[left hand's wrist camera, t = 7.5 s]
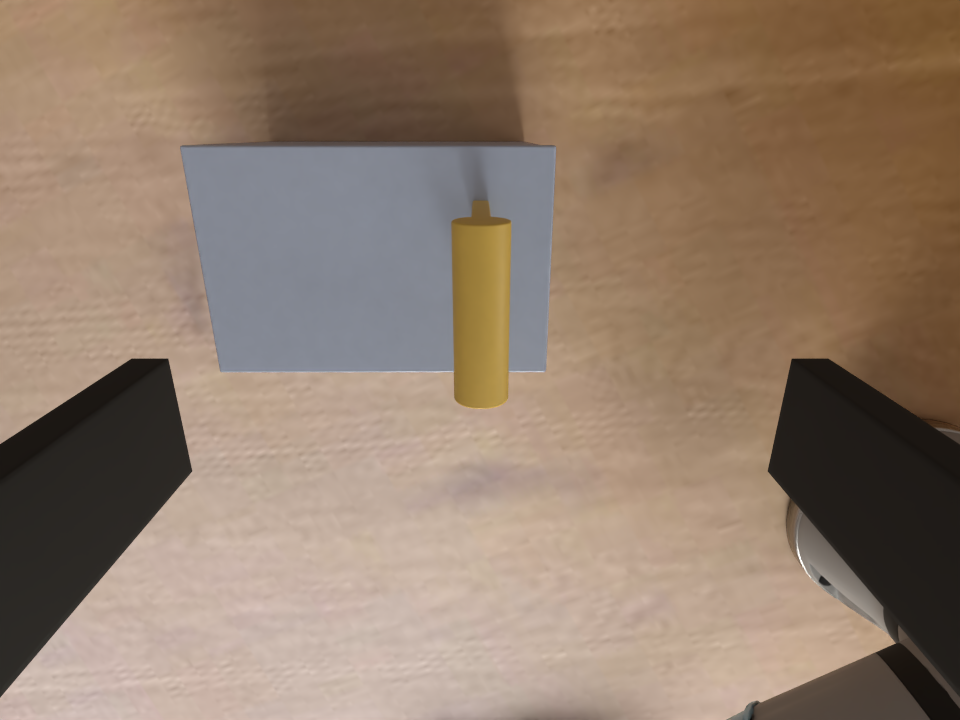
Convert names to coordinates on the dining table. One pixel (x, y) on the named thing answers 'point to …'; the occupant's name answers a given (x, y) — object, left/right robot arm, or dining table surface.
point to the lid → (377, 258)
